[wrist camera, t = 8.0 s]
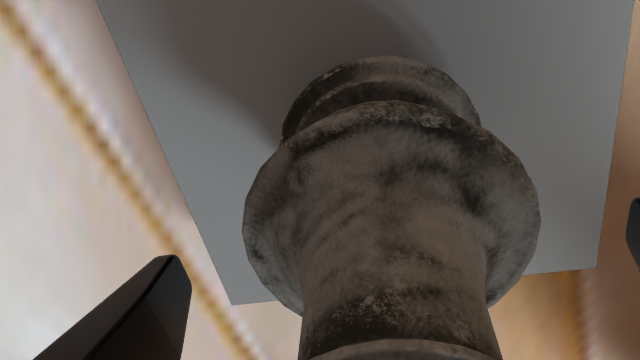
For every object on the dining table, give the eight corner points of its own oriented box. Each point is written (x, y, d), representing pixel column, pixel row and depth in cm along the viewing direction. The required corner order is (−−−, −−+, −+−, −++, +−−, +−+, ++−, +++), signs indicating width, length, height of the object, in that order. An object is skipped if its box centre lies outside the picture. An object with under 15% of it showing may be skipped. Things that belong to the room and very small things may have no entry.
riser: (598, -203, 12) (666, -224, 9) (562, 213, 18) (596, 267, 16) (117, -81, 14) (64, -71, 11) (246, 252, 20) (231, 305, 18)
